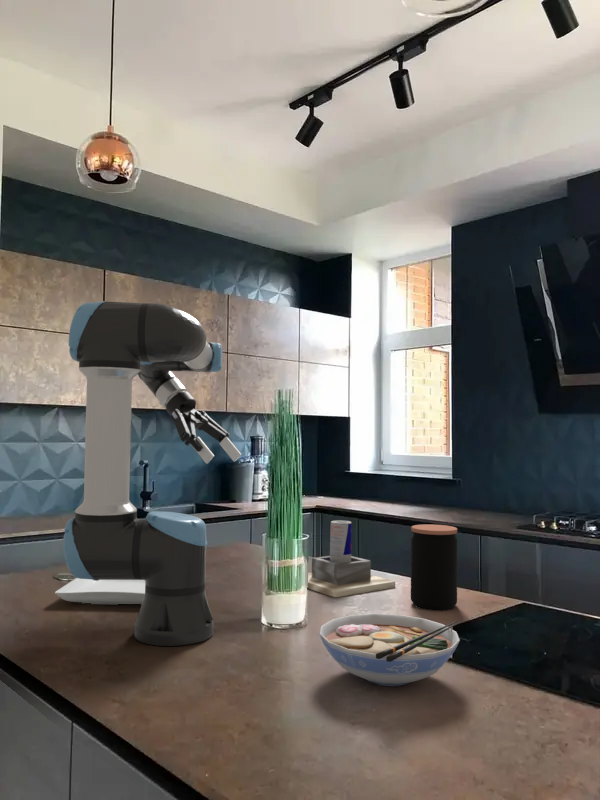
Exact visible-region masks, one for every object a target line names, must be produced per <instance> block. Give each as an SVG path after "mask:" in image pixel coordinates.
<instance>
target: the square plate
mask: <svg viewBox="0 0 600 800" xmlns="http://www.w3.org/2000/svg"><path fill="white" fill-rule="evenodd" d="M54 594H55V595H57V596H58V597H59V598H61V599H62V600H64V601H67V602H72V603H80V602H81V603H80V604H85V603H91V604H90V605H118V604H142V602H143V599H144V596H145V580H98V581H95V580H92V579H79V578H76V577H75V578H74V579H73V580H70V581H69V582H68V583H66V584H65V585H63V586H62V587H60V588H58V589H57V590H56V591H55V592H54Z"/></svg>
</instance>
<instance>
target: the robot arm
mask: <svg viewBox="0 0 600 800" xmlns="http://www.w3.org/2000/svg"><path fill="white" fill-rule="evenodd" d="M68 347H69V350H68V352H69V355H70V357H71V359H72V360H73V361H75V362H77V363H78V370H79V372H80V373H82V375H83V376H84V377H85V379H86V396H85V397H86V399H85V400H86V401H85V438H84V439H85V441H84V443H85V444H84V475H83V476H84V479H83V481H84V482H83V484H84V486H83V487H84V489H83V502H81V504H80V505H79V506H78V507H77V508H76V509H75V512H74V516H73V517H72V518H70V519H68V520H67V522H66V523H65V527H64V534H63V541H62V542H63V543H62V545H63V555H64V559H65V563H66V566H67V568H68V570H69V573H70V574H71V575H72V576H73V577H74V578H75V579H76V578H79V579H92V580H95V581H98V580H145V596H144V599H143V602H142V605H140V609H139V611H138V615H137V617H136V620H135V623H134V638H135V640H137V641H138V642H141V643H143V644H146V645H153V646H159V647H161V646H162V647H175V646H176V647H177V646H187V645H192V644H193V645H194V644H196V643H201V642H204V641H206V640H209V639H210V638H211V637H212V636H214V625H215V624H214V622H215V621H214V618H213V615H212V612H211V608H210V606H209V602H208V597H207V595H206V580H207V579H206V578H207V577H206V575H207V573H206V569H207V566H206V562H207V546H208V540H207V525H206V523H205V521H204V520H203V519H201V518H200V517H197V516H194V515H191V514H187V513H180V512H174V511H160V510H159V511H158V510H156V511H155V510H154V511H149V512H148V513H147V515H146V517H145V518H138V517H137V516H138V515H137V513H138V512H137V511H138V509H137V507H135V505H134V504H133V503H132V502H131V500H130V487H131V485H130V479H131V438H132V435H131V434H132V404H133V403H132V402H133V401H132V397H133V395H132V393H133V380H134V378H135V377H136V376H138V378H139V379H140V380H141V381H142V382H143V383H144V384H145V386H146V387H147V388H148V390H150V392H151V393H152V394H153V395H154V396H155V398H156V399H157V400H158V401H159V404H160V405H162V406H163V408H164V409H165V410H166V411H167V413H168V414H169V417H170V418H171V420H172V421H173V423H174V424H173V425H174V426H175V429H176V430H177V434H178V435H179V438H180V440H181V442H184V445H185V446H188V447H189V445H191V447H192V448H193V449H194V450H195V452H196V453H197V454H198V455H199V457H201V460H203V462H204V463H205V464H209V463H210V462H211V461H212V459H213V458H214V457H215V455H214V453H213V452H212V451H211V450H210V448H209V447H208V446H207V444H206V443H205V442H204V441H203V440H202V438H201V437H200V436H197V434H196V433H197V432H196V429H198V431H203V432H204V433H206V434H208V436H210V437H212V438H213V439H214V440H216V441H218V442H219V445H220V447H221V448H222V449H223V450H224V451H225V453H226V454H227V455H228V456H229V458H230V459H231V460H232V461H233V462H234V463H235V462H236V461H237V460H238V459H239V458H240V457H241V456H242V453H241V452H240V450H239V449H238V448H237V447H236V445H235V444H234V443H233V442H232V440H230V438H229V437H230V432H228V431H227V430H226V429H224V428H223V427H222V426H221V425H220V424H218V423H217V422H216V421H215V420H214V419H212V417H210V415H208V414H207V413H206V411H205V410H202V411H201V412H199V411H198V410H197V409H196V406H197V402H196V400H195V398H194V397H193V395H191V393H190V391H189V392H188V390H187V388H186V387H185V386H184V385H183V383H182V382H181V381H180V380H179V379H178V378H177V377H176V376H175V374H174V372H193V373H194V372H197V373H202V372H203V373H212V372H213V373H218V372H220V371H221V370H222V368H223V346H222V344H221V343H219V342H212V341H209V342H208V341H207V334H206V331H205V329H204V327H203V325H202V324H201V323H200V321H198V320H197V319H196V318H195V316H192V315H191V314H189V313H187V312H186V311H183V310H181V309H179V308H176V307H174V306H170V305H167V304H163V303H157V302H149V303H147V302H146V303H145V302H128V301H127V302H124V301H123V302H122V301H105V300H103V301H95V302H94V301H93V302H84V303H82V304H81V305H80V306H78V308H77V309H76V311H75V312H74V315H73V316H72V319H71V323H70V326H69V333H68Z"/></svg>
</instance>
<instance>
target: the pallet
mask: <svg viewBox="0 0 600 800" xmlns="http://www.w3.org/2000/svg"><path fill="white" fill-rule="evenodd" d="M371 572H372V561H371V560H370V559H365V558H361V557H357V556H354V555H351V562H347V563H335V562H331V561H330V555H325V556H319V557H312V558H311V572H307V573H308V588H307V589H309V590H311V591H313V592H314V591H315V592H318V593H322V594H323V595H326V596H330V597H333V598H339V597H346V596H351V595H352V596H353V595H356V594H357V595H358V594H364V593H369V592H377V591H382V590H387V589H393V588H396V581H394V580H391V579H388V578H385V577H382V576H376V575H373V574H372V573H371Z"/></svg>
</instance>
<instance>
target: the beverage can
mask: <svg viewBox="0 0 600 800" xmlns="http://www.w3.org/2000/svg"><path fill="white" fill-rule="evenodd" d="M352 527H353V526H352V521H350V520H341V519H339V520H338V519H337V520H332V521H330V528H329V529H330V539H329V540H330V541H329V545H330V546H329V556H330V561H331V562H335V563H347V562H351V556H352V542H353V540H352V537H353V535H352V533H353V532H352V530H353V528H352Z"/></svg>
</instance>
